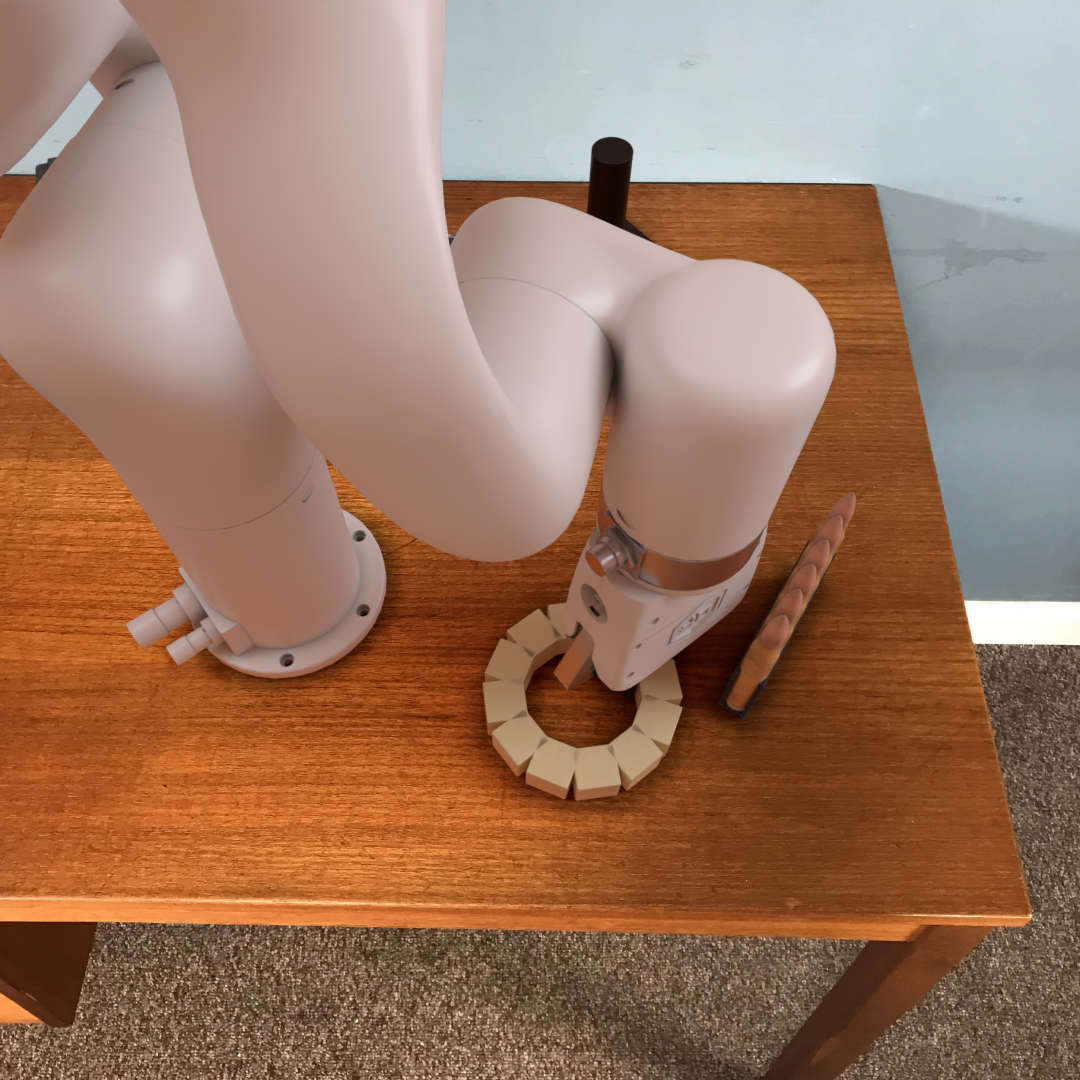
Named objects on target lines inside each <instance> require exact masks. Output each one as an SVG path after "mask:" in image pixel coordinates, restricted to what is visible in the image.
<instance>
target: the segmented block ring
mask: <svg viewBox="0 0 1080 1080" xmlns="http://www.w3.org/2000/svg"><path fill="white" fill-rule="evenodd" d="M565 608H566V602H562V603H554V604H548V605H547V611H546V614H544V612H543V611H542V610H541V608H537V609H535V610H534V611H532V612H531V613H530V614H529V615H527V616H525V617H524V618H523V619H521V620H520V621H518V622H517V623H516V624H513V626H511V627H510V628H508V629H507V630H506V639H505V638H502V637H500V639H499V641H498V643H497V645H496V647H495V649H494V652H493V654H492V656H491V658H490V660H489V662H488V664H487V666H486V669H485V671H484V680H485V681H484V682H482V691H483V692H482V693H483V700H484V701H483V702H484V711H485V719H486V727H487V735H488V736H491V738H492V739H491V742H492V746H493V748H494V749H495V750H496V751H497V753H498V754H499V756H500V757H501V758H502V759H503V761H504V762H505V763H506V764H507V766H508V767H509V768H510V770H511V772H512V773H513V774H514V775H515V777H520V776H521V775H522V774H524V773H525V784H526V785H528V786H530V787H533V788H535V789H538V790H540V791H543V792H545V793H548V794H550V795H552V796H554V797H557V798H560V799H562V800H566V798H567V797H568V793H569V791H570V788H571V786H572V788H573V794H574V800H575V801H584V800H585V801H586V800H591V799H592V800H593V799H600V798H607V797H615V796H618V793H619V791H620V788H621V786H622V788H623V789H625V791H629V790H630V789H631V788H633V786H635V785H637V783H639V782H640V781H641V780H642V779H644V778H645V777H646V776H648V774H650V773H651V772H653V770H655V769H656V768H657V767H659V763H660V762H661V760H662V758H665V756H666V754H667V751H668V750H669V748H670V745H671V743H672V740H673V738H674V734H675V731H676V728H677V725H678V723H679V719H680V717H681V713H682V710H683V707H682V706H680V705H681V703H682V699H683V698H684V697H683V692H682V687H681V684H680V680H679V675H678V669H677V666H676V662H675V661H674V659H671V660H668V661H667V662H666V663H664V664H663V665H662V666H660V667H659V668H658V669H656V670H655V671H654V672H652V673H651V674H650V675H648V676H647V677H646V678H644V679H643V680H641V681H640V682H639V683H638V684H637V687H636V690H635V693H634V694H633V695H634V700H635V705H636V709H637V710H636V713H635V716H634V717H633V718H634V719H633V722H632V724H631V726H629V727H628V728H627V729H625V730H624V731H623V732H622V733H620V734H619V735H617V737H615V738H614V739H613V740H611V741H609V743H607V744H599V745H593V746H592V745H591V746H585V747H575V746H572V745H569V744H567V743H564V742H562V741H559V740H556V739H555V738H552V737H549V736H548V735H546V733H545V732H544V730H542V728H541V727H540V726H539V724H538V723H537V722H536V721H535V720H534V718H533V717H532V716H531V714H529V711H528V706H527V705H528V704H527V698H526V691H527V689H528V687H529V684H530V683H531V679H532V677H533V676H534V673H535V671H537V670H538V669H539V668H541V667H542V666H543V665H545V664H546V663H547V662H549V661H550V660H551V659H553V658H554V657H556V656H557V655H561V654H562V655H563V654H566V652H567V651H568V649H569V647H570V646H571V644H572V643H573V641H574V640H575V639H572V638H566V636H565V632H564V614H565Z"/></svg>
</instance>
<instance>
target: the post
mask: <svg viewBox="0 0 1080 1080" xmlns="http://www.w3.org/2000/svg"><path fill="white" fill-rule="evenodd" d="M590 149H591V150H590V163H589V177H588V190H587V207H586V214H589V215H591V216H593V217H596V218H598V219H600V220H602V221H605V222H607V223H609V224H611V225H614V226H616V227H618V228H620V229H622V230H625V231H627V232H629V233H632V234H634V235H636V236H638V237H641V238H643V239H645V240H648V241H650V242H652V243H655V242H654V241H653V240H652V239H651V238H650V237H648V236H647V235H646V234H645V233H643V232H642V231H641V230H640V229H639V228H638V227H636V226H635V225H634V224H632V222H630V221H629V220H628V219H627V211H628V204H629V203H628V202H629V196H630V195H629V194H630V186H631V184H630V183H631V178H632V177H631V176H632V168H633V161H634V147H633V146H632V144H631V143H630V142H629V141H628V140H626V139H624V138H622V137H618V136H606V137H602V138H599V139H598V140H596V141H594V143H593V144H592V145H591V148H590Z"/></svg>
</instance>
